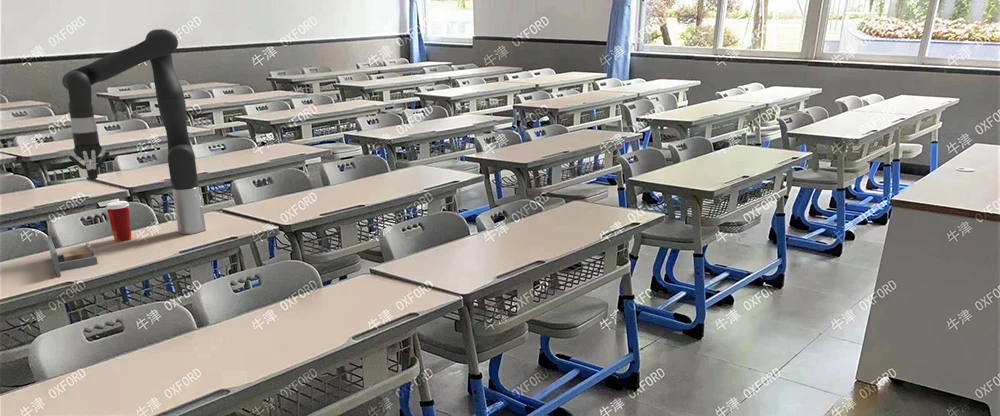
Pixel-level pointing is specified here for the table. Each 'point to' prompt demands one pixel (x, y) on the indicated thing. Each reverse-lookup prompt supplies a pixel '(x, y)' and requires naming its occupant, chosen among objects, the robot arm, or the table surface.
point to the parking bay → (62, 265)
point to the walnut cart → (78, 254)
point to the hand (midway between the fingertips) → (93, 179)
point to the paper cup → (120, 220)
